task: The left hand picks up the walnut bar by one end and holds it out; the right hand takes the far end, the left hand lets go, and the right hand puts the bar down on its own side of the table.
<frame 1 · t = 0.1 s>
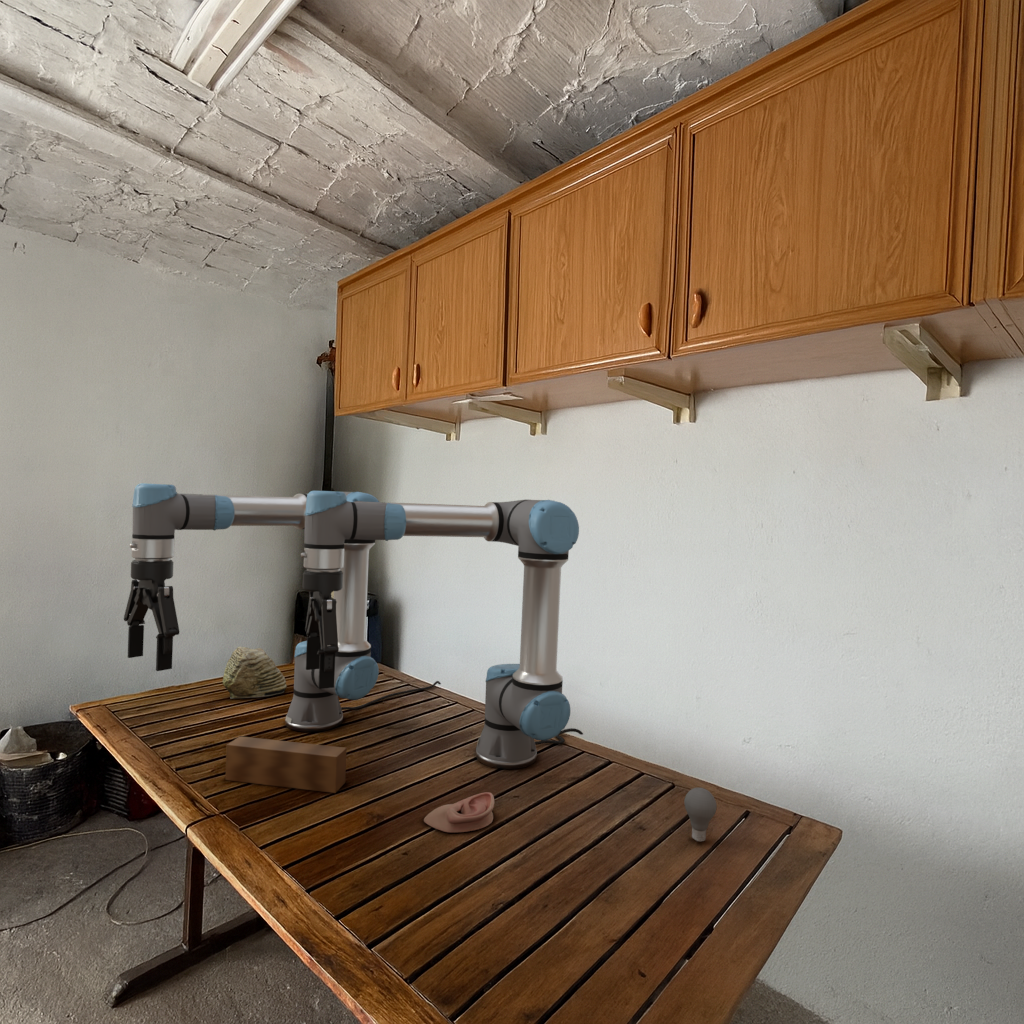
left hand: (149, 663, 129), 28 cm above the table, tool pointing down, fingers open, 13 cm apart
right hand: (319, 678, 124), 28 cm above the table, tool pointing down, fingers open, 13 cm apart
anatomical model: (459, 819, 127), on the table
fossil: (254, 694, 198), on the table
bar: (285, 781, 140), on the table
light bulb: (698, 841, 123), on the table
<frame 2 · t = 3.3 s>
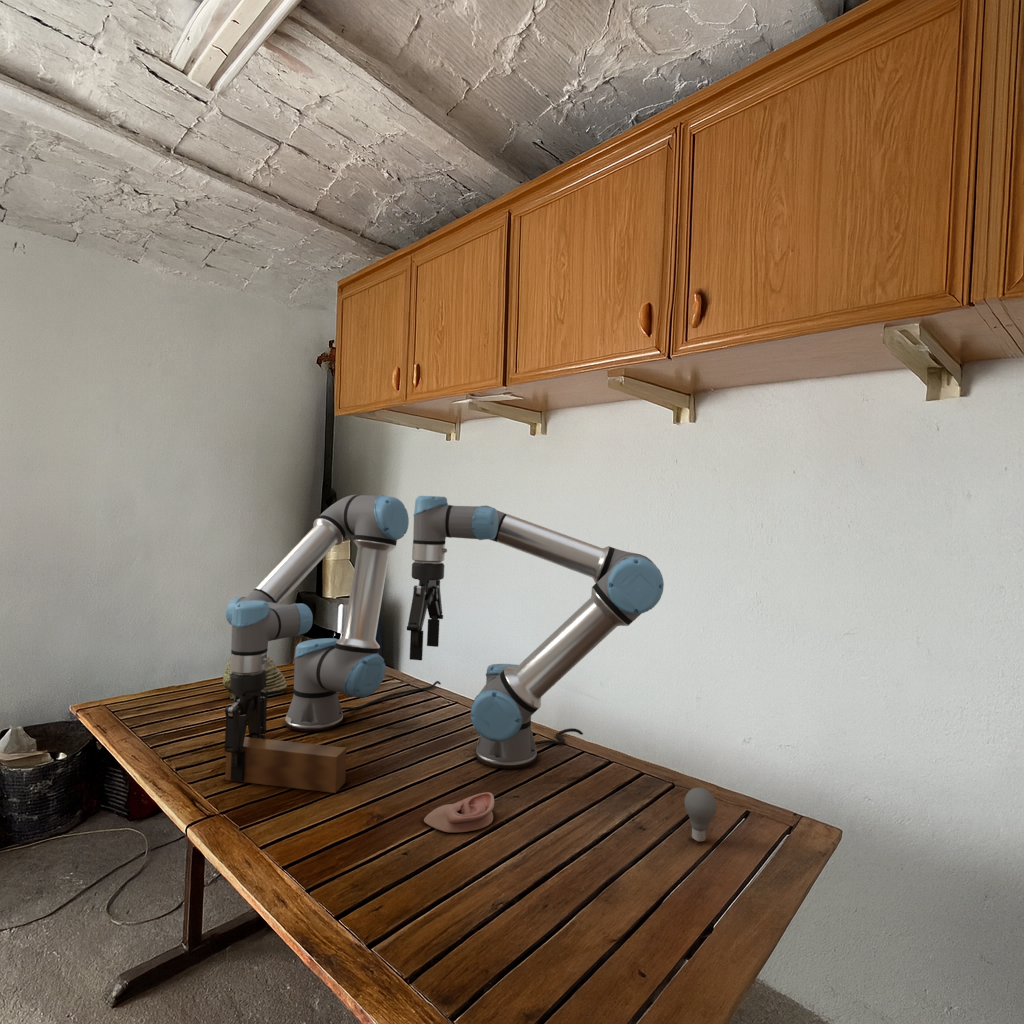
left hand: (244, 774, 142), 1 cm above the table, tool pointing down, fingers closed on bar, 5 cm apart
right hand: (424, 652, 148), 28 cm above the table, tool pointing down, fingers open, 13 cm apart
bar: (285, 781, 140), on the table, touching left hand
everything else where it was.
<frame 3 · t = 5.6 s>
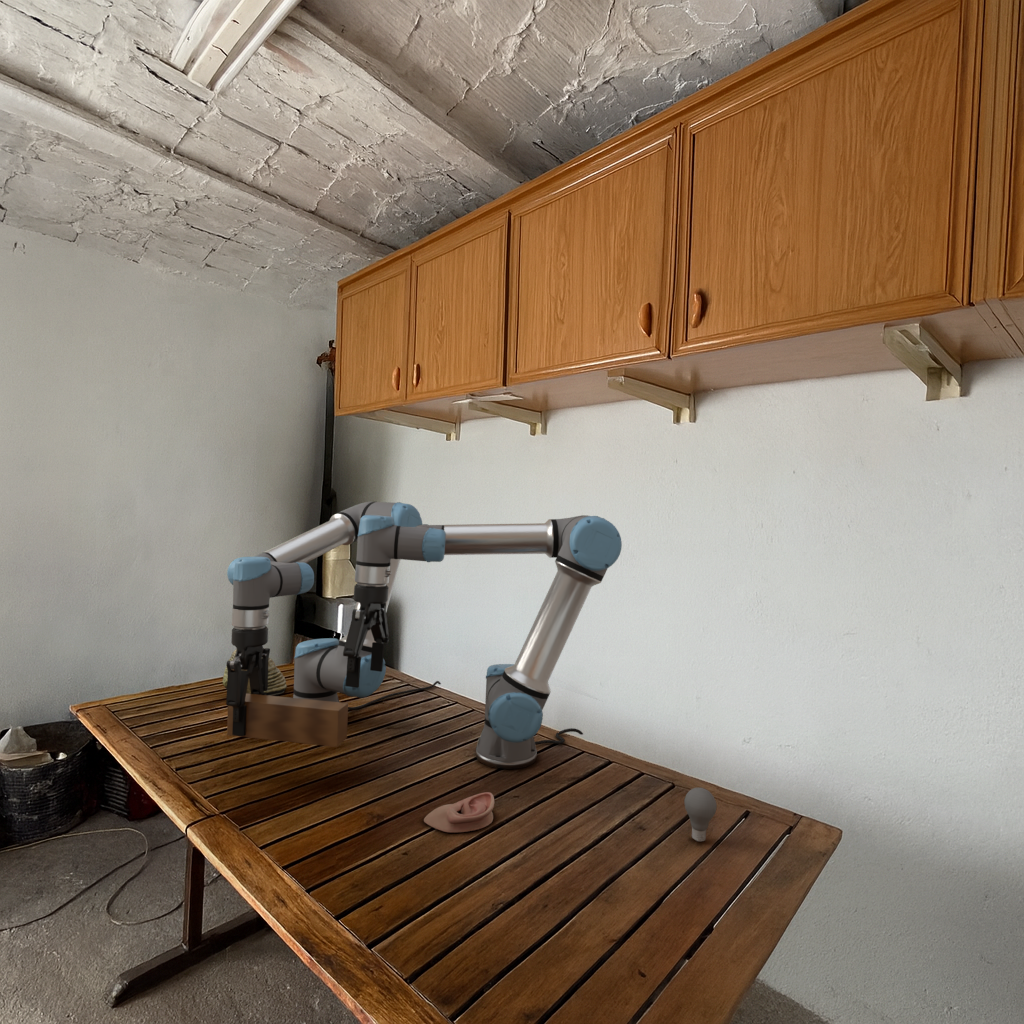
left hand: (246, 729, 141), 11 cm above the table, tool pointing down, fingers closed on bar, 5 cm apart
right hand: (364, 678, 142), 23 cm above the table, tool pointing down, fingers open, 13 cm apart
bar: (287, 736, 140), point 10 cm above the table, touching left hand
everything else where it was.
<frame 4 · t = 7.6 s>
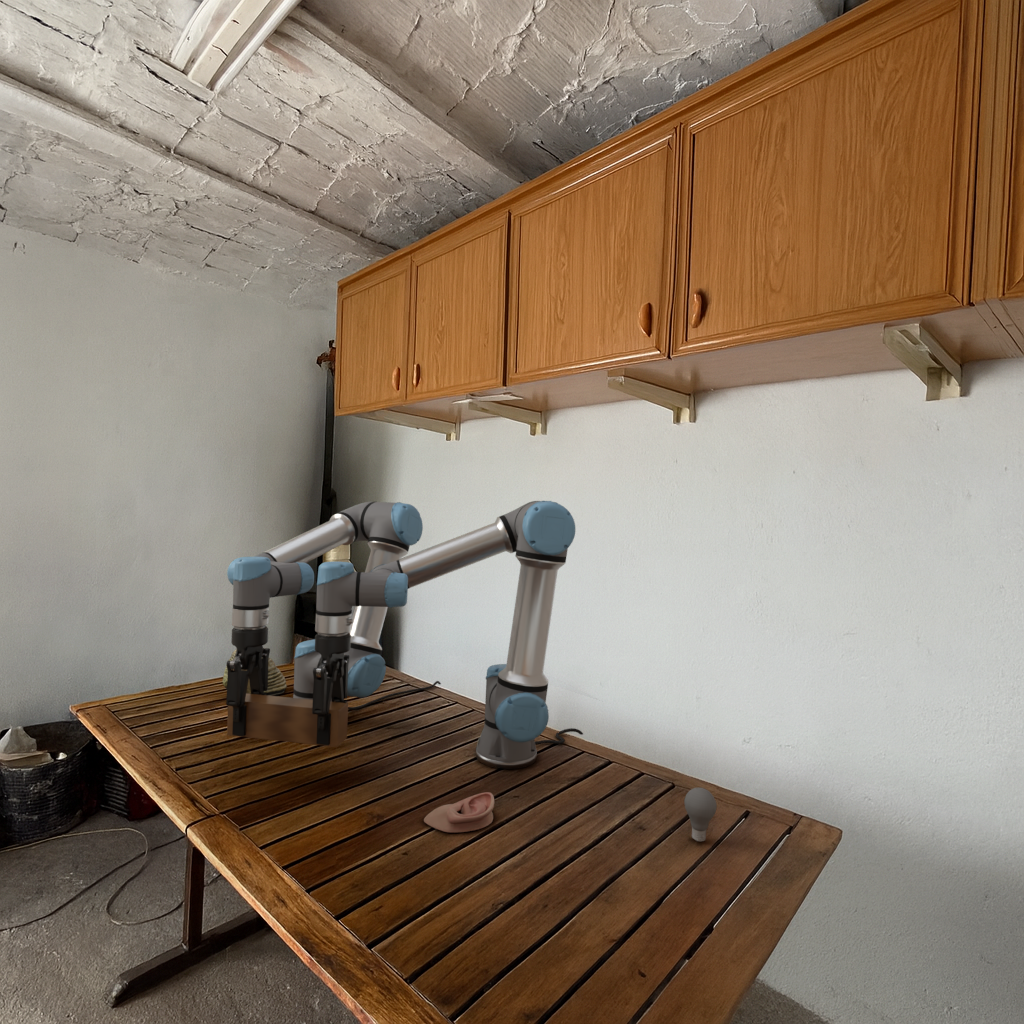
left hand: (246, 729, 141), 11 cm above the table, tool pointing down, fingers closed on bar, 5 cm apart
right hand: (329, 738, 138), 11 cm above the table, tool pointing down, fingers closed on bar, 5 cm apart
bar: (287, 736, 140), point 10 cm above the table, touching left hand, right hand
everything else where it was.
when the left hand's fingers open (11 cm above the table, at t = 8.3 s): bar stays where it is, held by the right hand.
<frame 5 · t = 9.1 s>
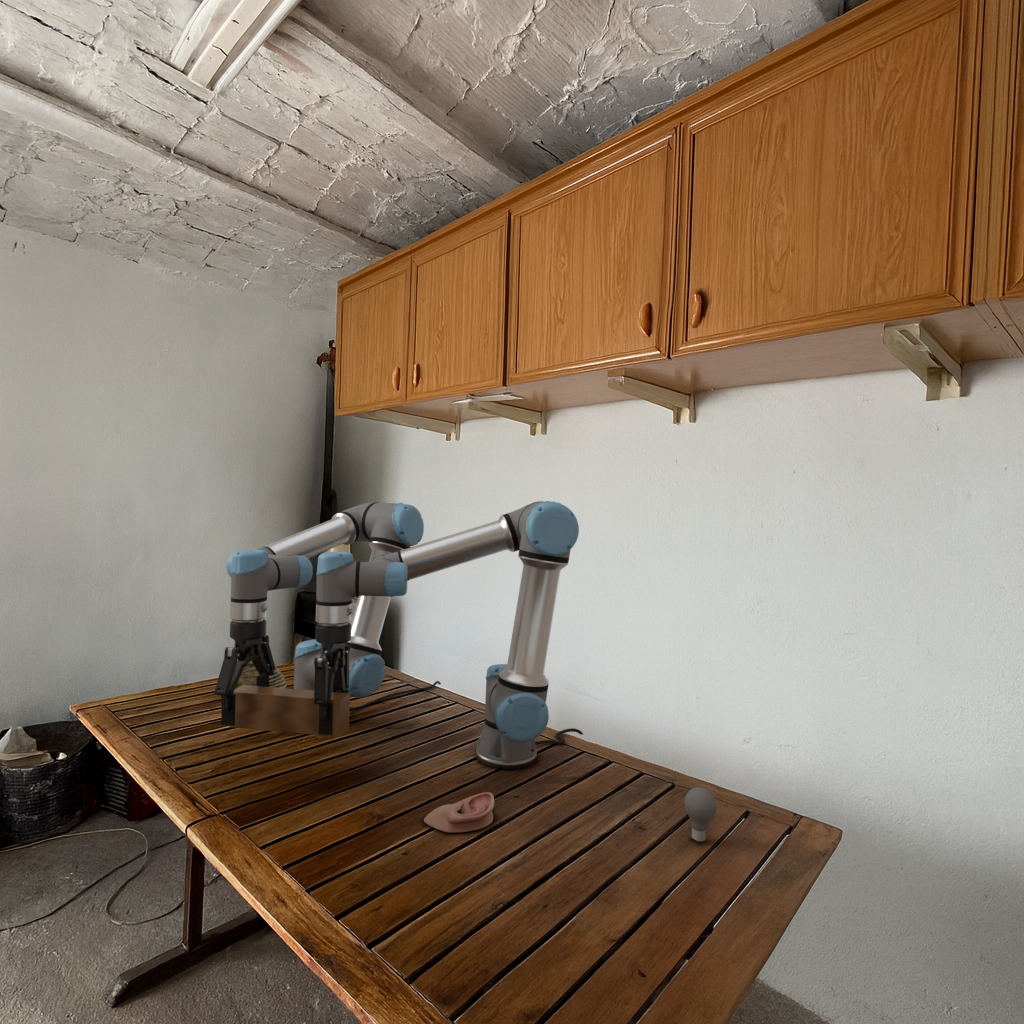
left hand: (245, 714, 142), 14 cm above the table, tool pointing down, fingers open, 13 cm apart
right hand: (331, 728, 138), 13 cm above the table, tool pointing down, fingers closed on bar, 5 cm apart
bar: (289, 727, 140), point 12 cm above the table, touching right hand
everything else where it was.
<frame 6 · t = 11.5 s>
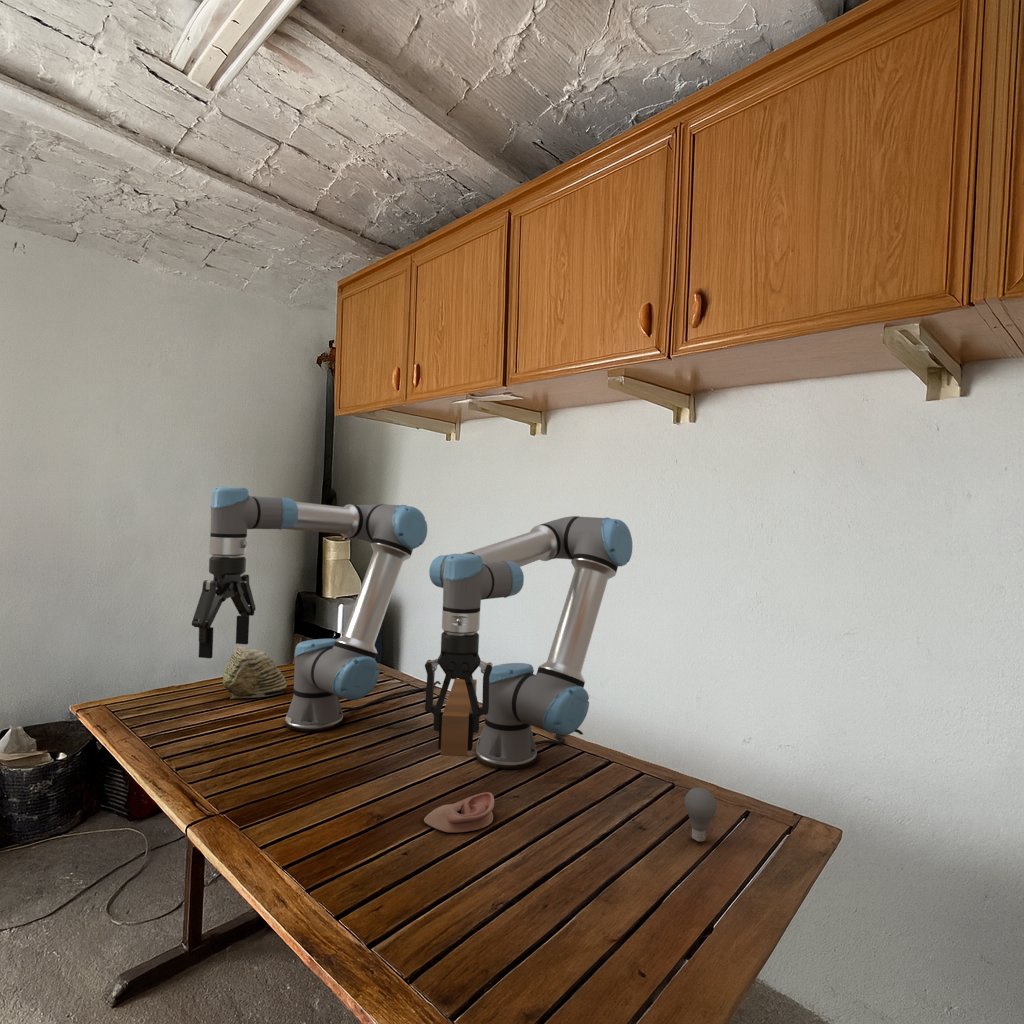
left hand: (224, 650, 142), 28 cm above the table, tool pointing down, fingers open, 13 cm apart
right hand: (455, 747, 127), 15 cm above the table, tool pointing down, fingers closed on bar, 5 cm apart
bar: (459, 732, 136), point 14 cm above the table, touching right hand
everything else where it was.
when the right hand's fingers open (2 cm above the table, at t = 15.3 s): bar drops 2 cm, on the table.
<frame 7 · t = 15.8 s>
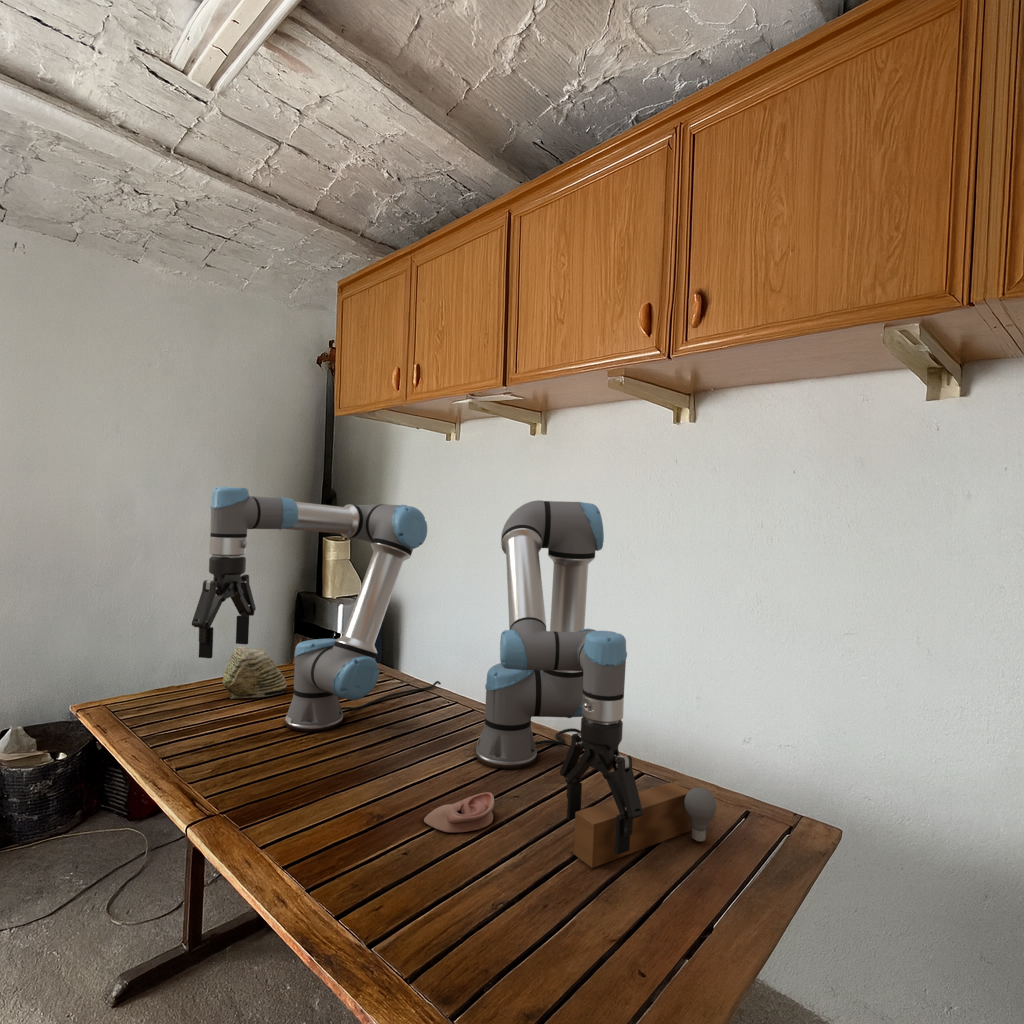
left hand: (224, 650, 142), 28 cm above the table, tool pointing down, fingers open, 13 cm apart
right hand: (596, 834, 116), 4 cm above the table, tool pointing down, fingers open, 13 cm apart
bar: (634, 842, 121), on the table
everything else where it was.
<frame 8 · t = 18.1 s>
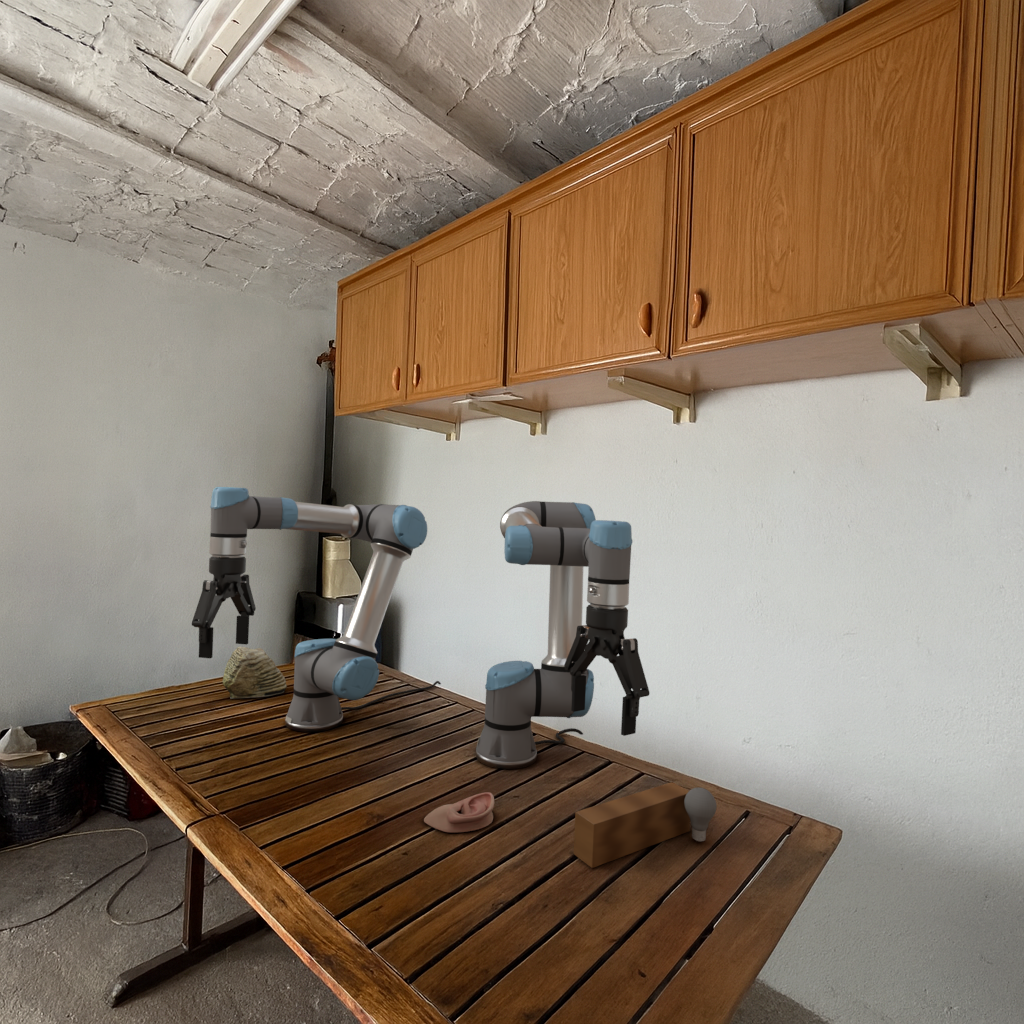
left hand: (224, 650, 142), 28 cm above the table, tool pointing down, fingers open, 13 cm apart
right hand: (601, 721, 115), 25 cm above the table, tool pointing down, fingers open, 13 cm apart
nothing on the table moved.
at the end: bar inside the target area (9.7 cm from its centre), on the table; the left hand is holding nothing; the right hand is holding nothing; bar at rest at the end (0.0 cm/s) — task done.
